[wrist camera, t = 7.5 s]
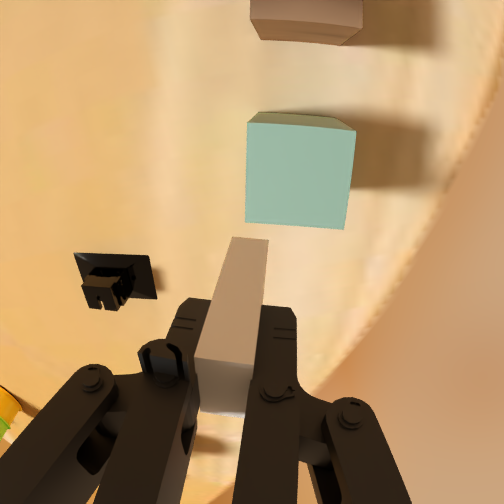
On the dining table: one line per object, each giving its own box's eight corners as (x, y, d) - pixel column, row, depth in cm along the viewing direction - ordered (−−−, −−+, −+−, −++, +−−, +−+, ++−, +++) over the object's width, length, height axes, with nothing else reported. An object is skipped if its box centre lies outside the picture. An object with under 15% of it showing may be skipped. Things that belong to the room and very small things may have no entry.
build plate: (83, 295, 36) (64, 318, 32) (66, 242, 32) (43, 263, 28) (174, 303, 34) (160, 331, 30) (162, 243, 31) (144, 268, 27)
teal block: (258, 112, 24) (247, 122, 17) (335, 117, 23) (356, 131, 16) (256, 183, 26) (245, 222, 19) (328, 188, 26) (343, 229, 19)
